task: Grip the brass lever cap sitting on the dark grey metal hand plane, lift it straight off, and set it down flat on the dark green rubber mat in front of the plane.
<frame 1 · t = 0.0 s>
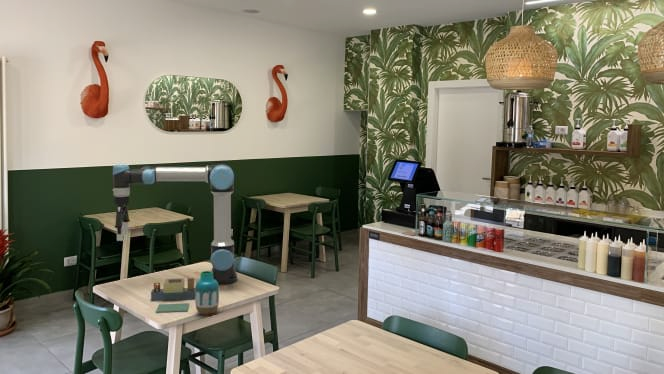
hand: (122, 237, 267), 28 cm above the table, tool pointing down, fingers open, 13 cm apart
felt pad: (173, 308, 247), on the table
vase: (207, 313, 242), on the table
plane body: (174, 298, 260), on the table
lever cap: (174, 289, 260), point 4 cm above the table, touching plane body
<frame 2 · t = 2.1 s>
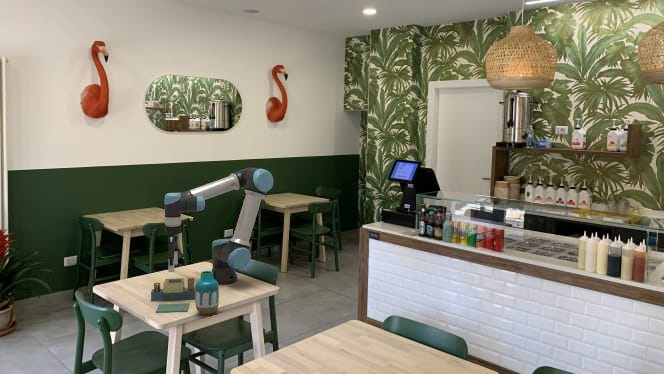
hand: (173, 268, 258), 16 cm above the table, tool pointing down, fingers open, 13 cm apart
nothing on the table moved.
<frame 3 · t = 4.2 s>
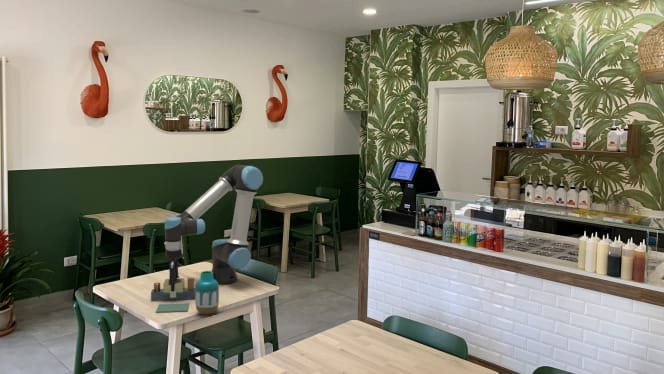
hand: (174, 294, 260), 2 cm above the table, tool pointing down, fingers closed on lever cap, 8 cm apart
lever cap: (174, 289, 260), point 5 cm above the table, touching gripper, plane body
everything else where it was.
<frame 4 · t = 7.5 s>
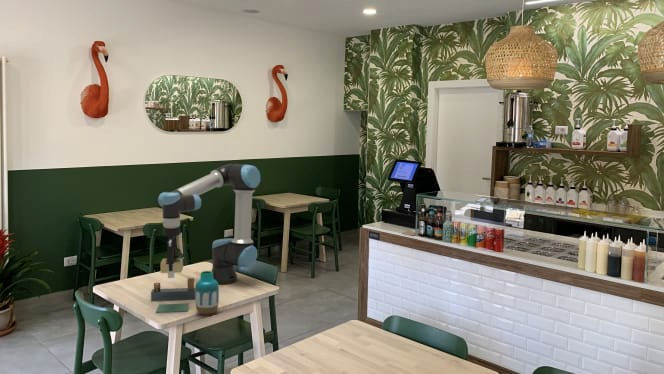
hand: (172, 274, 245), 16 cm above the table, tool pointing down, fingers closed on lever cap, 8 cm apart
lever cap: (172, 270, 245), point 18 cm above the table, touching gripper
everything else where it was.
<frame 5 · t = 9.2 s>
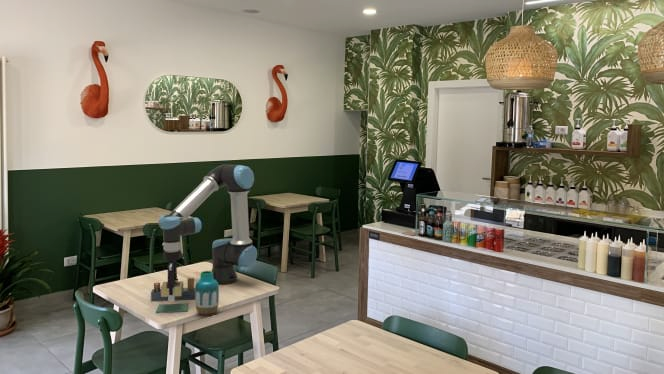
hand: (172, 298, 246), 5 cm above the table, tool pointing down, fingers closed on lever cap, 8 cm apart
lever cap: (172, 293, 246), point 7 cm above the table, touching gripper
everything else where it was.
when the fingers open (2 cm above the table, at t = 10.8 s): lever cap drops 3 cm, resting on felt pad.
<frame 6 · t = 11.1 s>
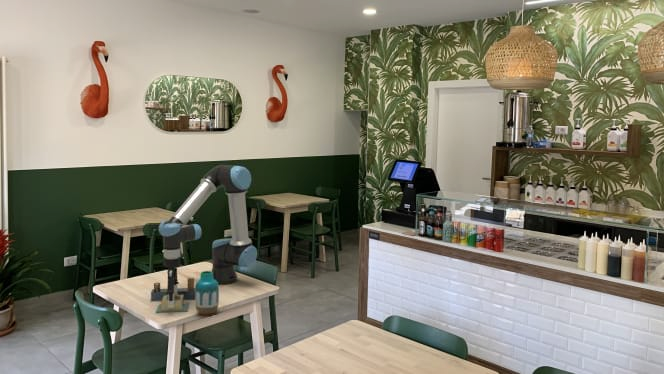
hand: (172, 302, 247), 3 cm above the table, tool pointing down, fingers open, 12 cm apart
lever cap: (172, 307, 247), point 1 cm above the table, touching felt pad
everything else where it was.
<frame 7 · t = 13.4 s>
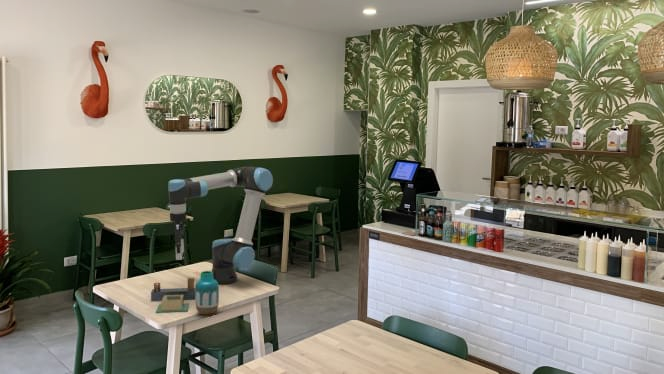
hand: (180, 255, 255), 23 cm above the table, tool pointing down, fingers open, 13 cm apart
nothing on the table moved.
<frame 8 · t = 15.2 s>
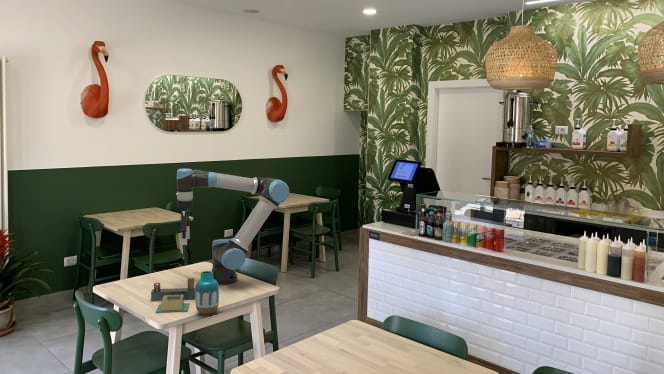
hand: (185, 241, 266), 27 cm above the table, tool pointing down, fingers open, 13 cm apart
nothing on the table moved.
at the end: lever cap inside the target area on the felt pad (0.0 cm from its centre), point 0.6 cm above the felt pad's base; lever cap tilted 0°; the gripper is holding nothing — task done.
